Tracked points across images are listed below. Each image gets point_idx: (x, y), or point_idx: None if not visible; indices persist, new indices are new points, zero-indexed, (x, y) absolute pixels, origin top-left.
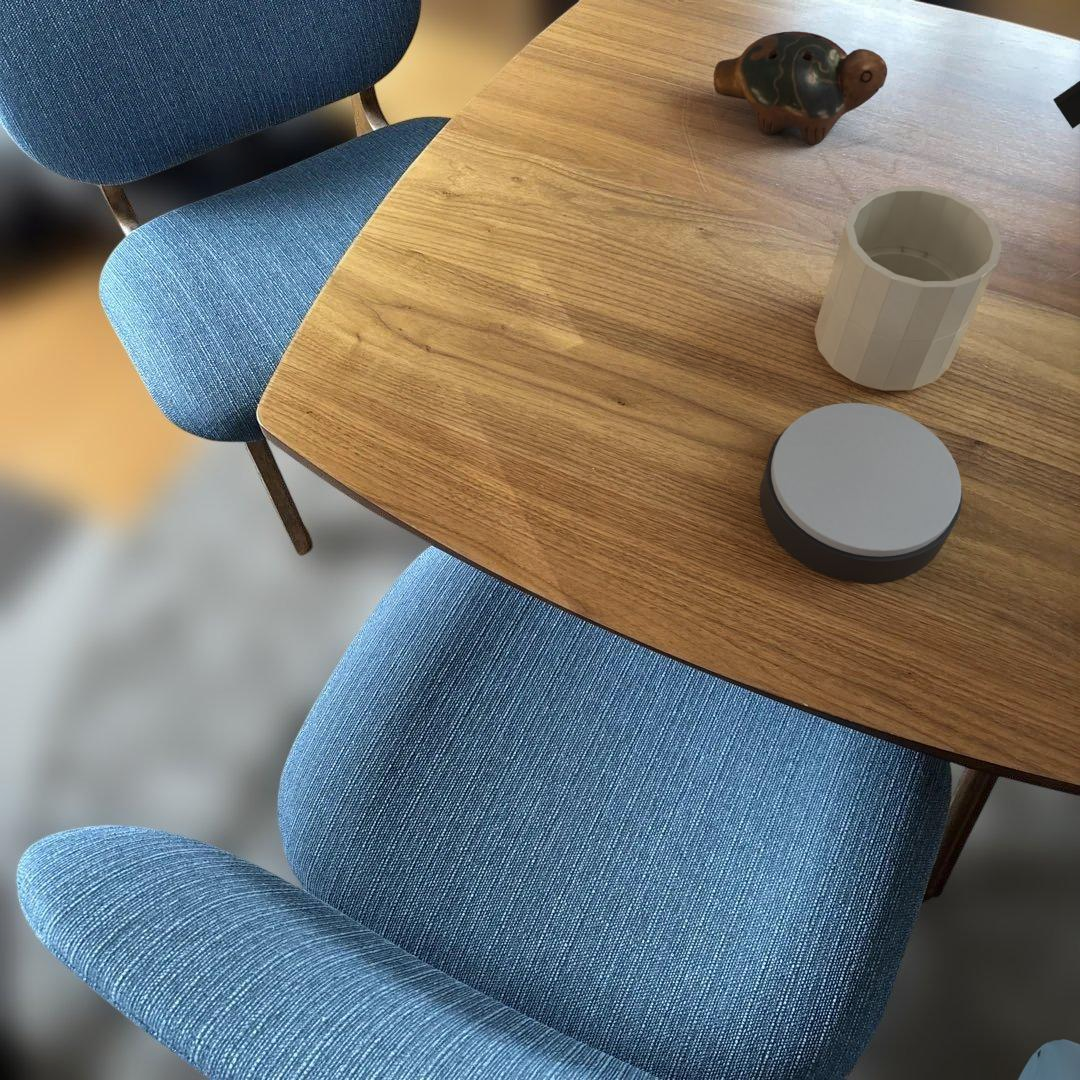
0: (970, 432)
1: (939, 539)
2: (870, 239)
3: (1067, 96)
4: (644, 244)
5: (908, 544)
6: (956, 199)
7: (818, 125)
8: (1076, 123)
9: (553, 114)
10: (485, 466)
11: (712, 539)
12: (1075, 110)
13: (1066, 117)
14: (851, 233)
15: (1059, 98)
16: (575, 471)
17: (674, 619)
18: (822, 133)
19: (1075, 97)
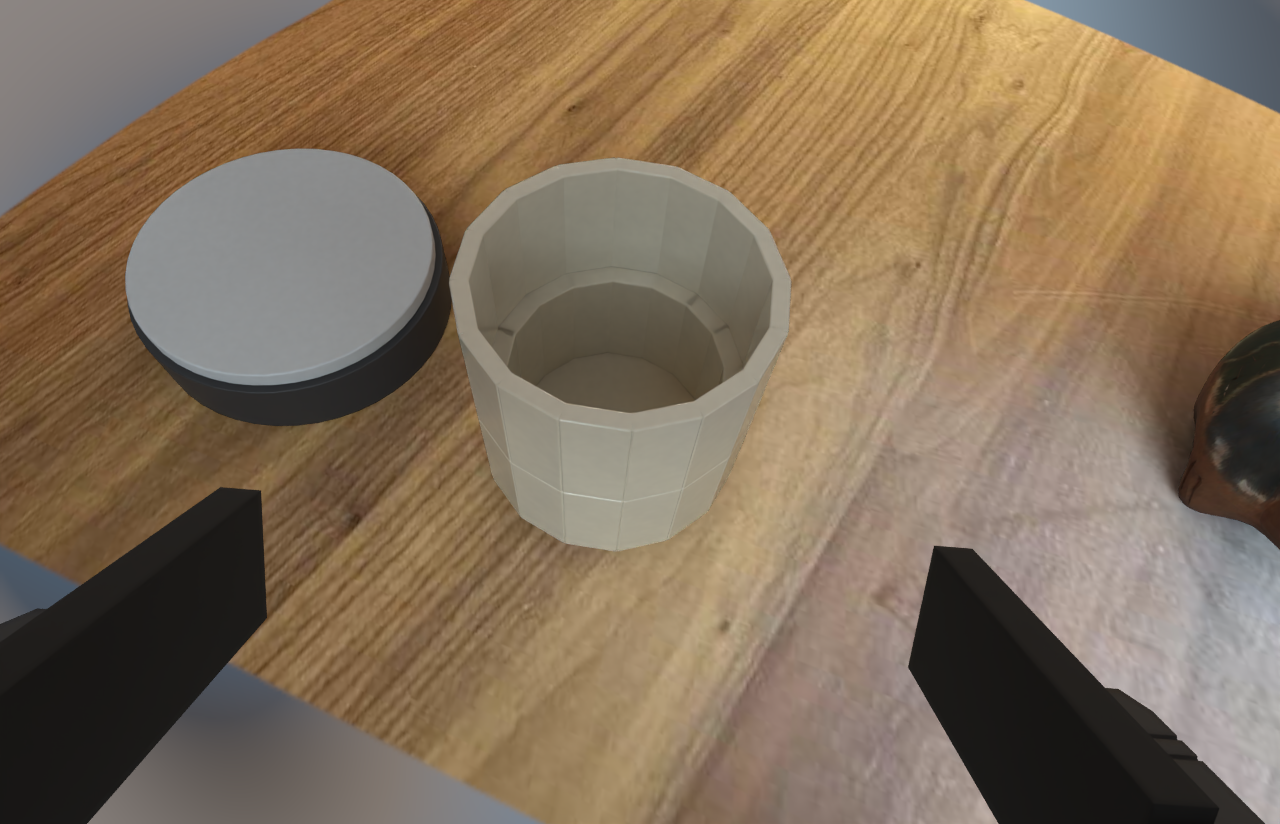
0: (381, 516)
1: (134, 321)
2: (739, 327)
3: (959, 566)
4: (880, 190)
5: (131, 260)
6: (732, 382)
7: (1199, 460)
8: (917, 670)
9: (1183, 146)
10: None
11: (323, 144)
12: (935, 630)
13: (921, 614)
14: (648, 167)
15: (964, 555)
16: (476, 51)
17: (231, 89)
18: (1194, 488)
19: (954, 591)
